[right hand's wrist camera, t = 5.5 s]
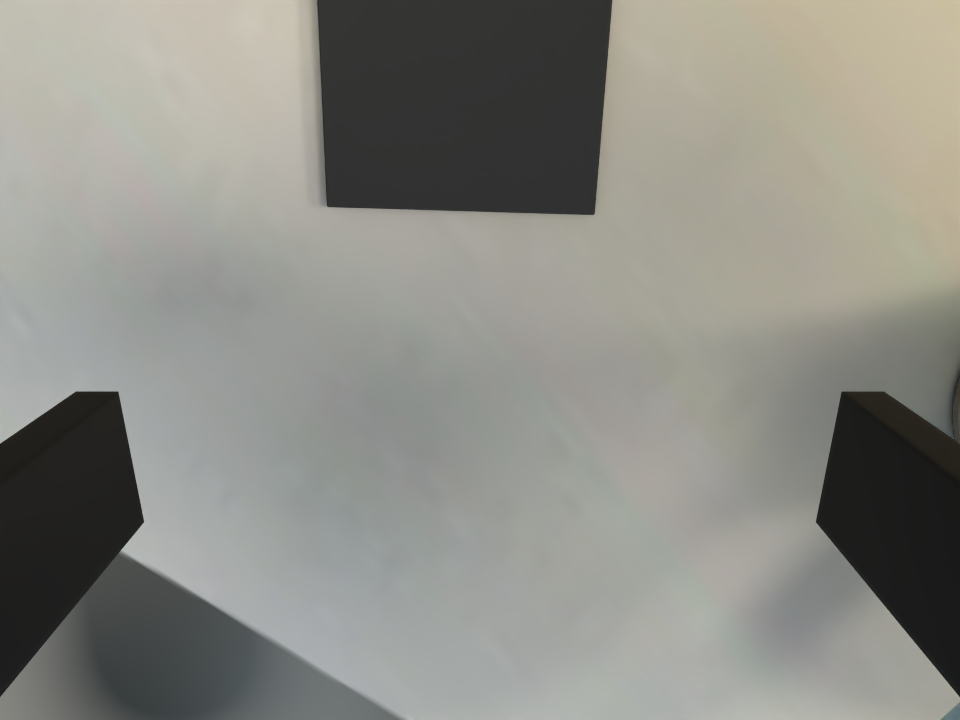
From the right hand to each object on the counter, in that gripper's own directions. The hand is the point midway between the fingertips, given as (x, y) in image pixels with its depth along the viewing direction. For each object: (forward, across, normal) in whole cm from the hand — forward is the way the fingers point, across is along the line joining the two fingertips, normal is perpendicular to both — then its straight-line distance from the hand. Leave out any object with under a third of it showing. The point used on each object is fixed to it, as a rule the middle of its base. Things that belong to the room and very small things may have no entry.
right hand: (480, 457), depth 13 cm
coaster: (+25, +1, -8) cm, 27 cm away
